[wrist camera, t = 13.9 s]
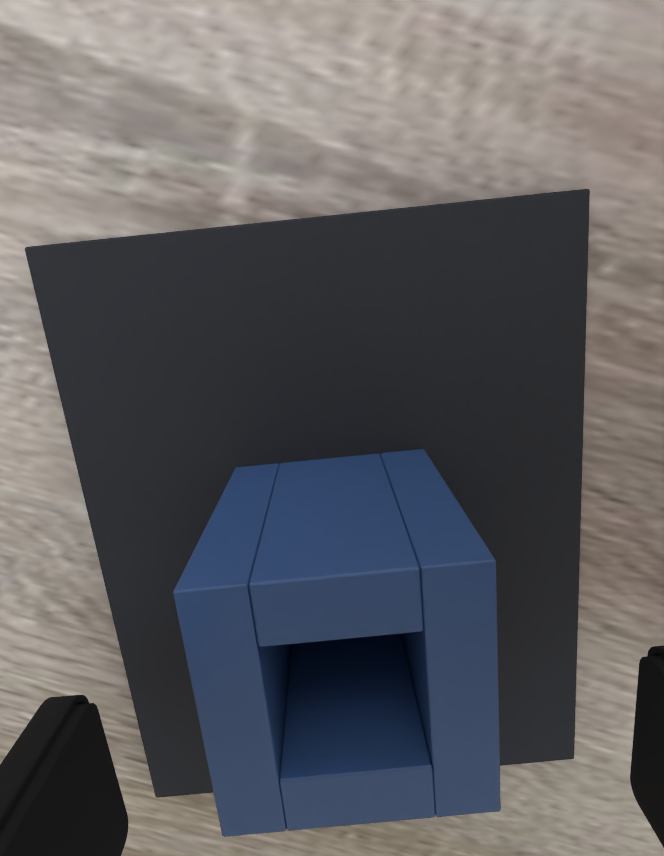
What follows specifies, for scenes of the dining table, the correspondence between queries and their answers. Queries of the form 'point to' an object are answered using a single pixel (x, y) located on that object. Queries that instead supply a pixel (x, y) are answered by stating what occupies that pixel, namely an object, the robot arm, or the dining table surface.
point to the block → (343, 646)
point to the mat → (331, 413)
